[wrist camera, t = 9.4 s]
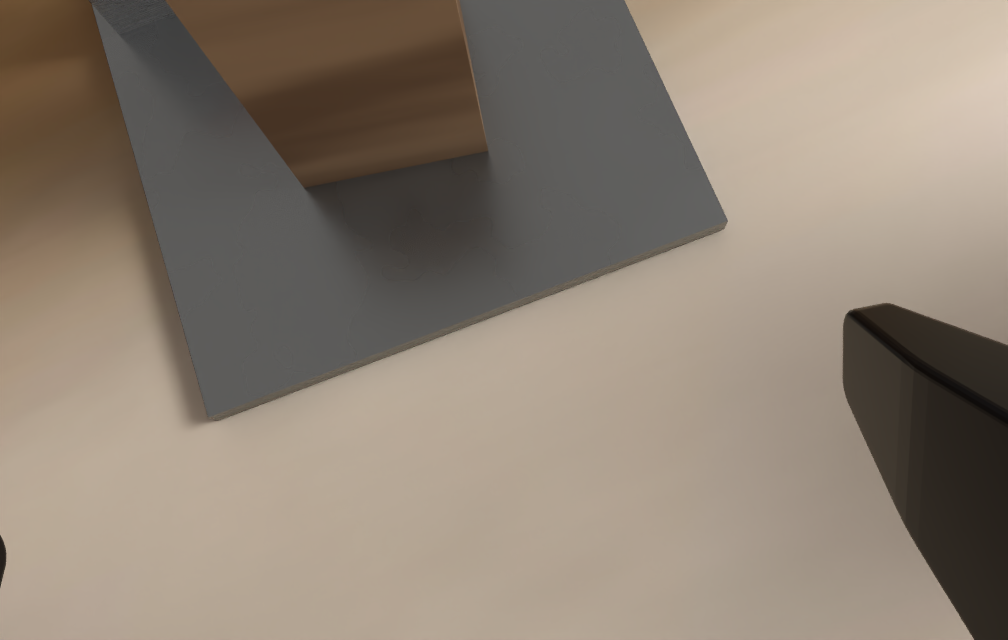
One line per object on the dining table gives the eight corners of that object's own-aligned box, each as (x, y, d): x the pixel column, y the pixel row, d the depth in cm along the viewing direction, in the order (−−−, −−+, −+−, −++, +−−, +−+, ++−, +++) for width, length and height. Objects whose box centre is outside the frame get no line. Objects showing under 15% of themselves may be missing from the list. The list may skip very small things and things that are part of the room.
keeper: (724, 229, 24) (786, 93, 17) (217, 421, 23) (66, 364, 16) (533, -180, 27) (518, -431, 20) (92, -18, 27) (-74, -216, 20)
